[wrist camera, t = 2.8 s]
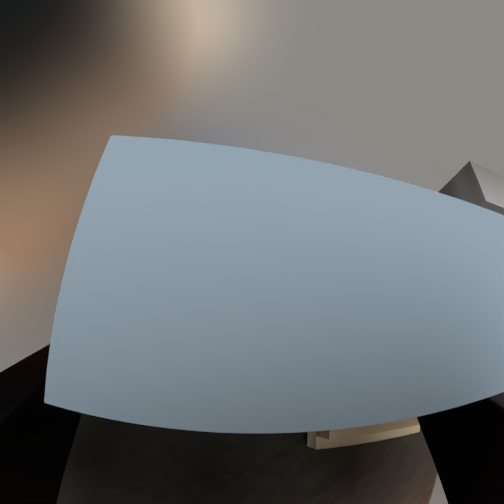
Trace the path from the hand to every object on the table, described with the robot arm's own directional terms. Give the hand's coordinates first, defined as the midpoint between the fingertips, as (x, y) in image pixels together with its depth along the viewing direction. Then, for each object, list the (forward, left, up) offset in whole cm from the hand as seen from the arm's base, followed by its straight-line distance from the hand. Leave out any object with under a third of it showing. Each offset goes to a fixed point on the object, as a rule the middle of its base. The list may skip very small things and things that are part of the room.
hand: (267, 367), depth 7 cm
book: (0, 0, -8) cm, 8 cm away
